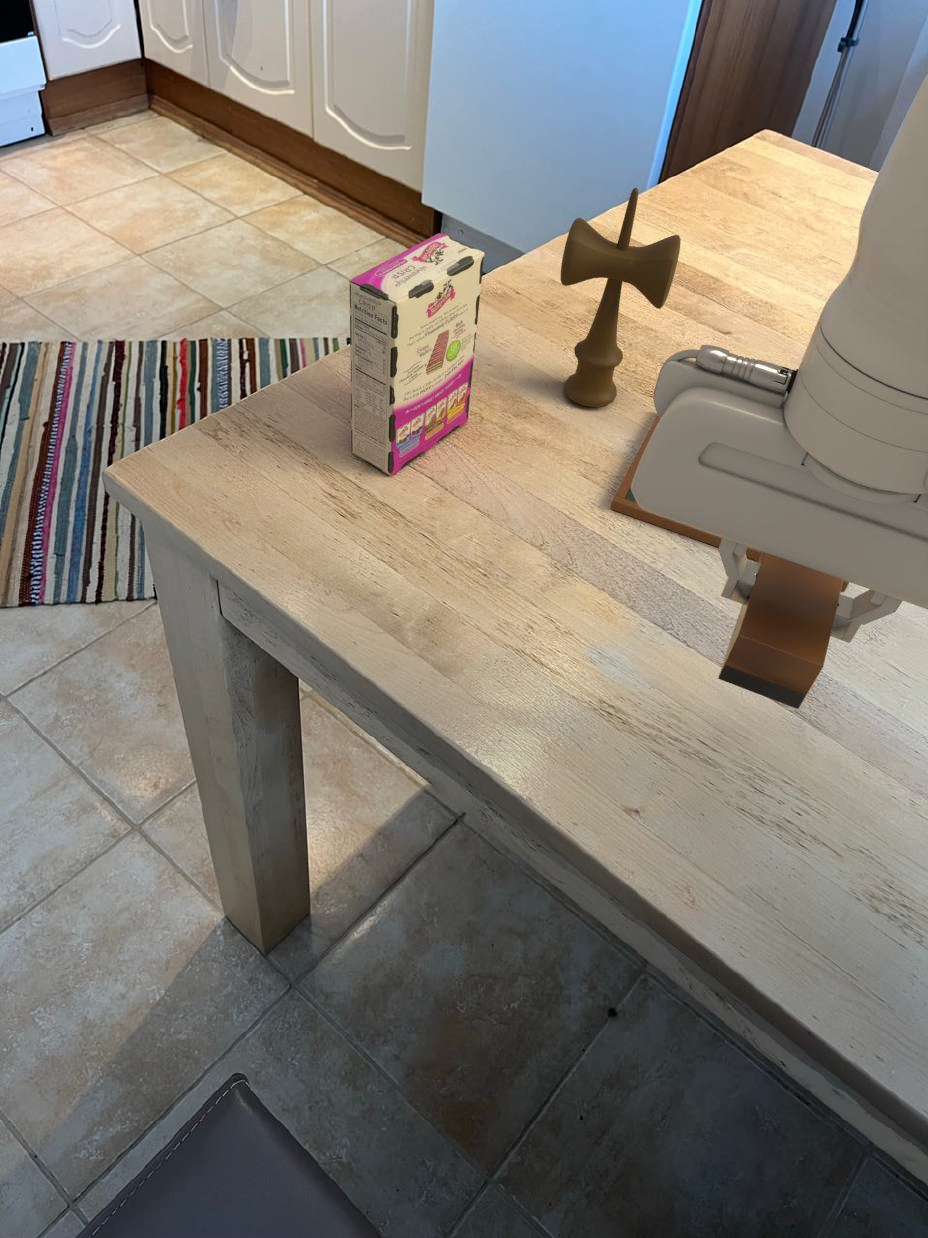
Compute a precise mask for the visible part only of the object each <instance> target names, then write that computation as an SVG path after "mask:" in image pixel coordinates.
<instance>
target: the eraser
mask: <svg viewBox="0 0 928 1238" xmlns="http://www.w3.org/2000/svg"><path fill="white" fill-rule="evenodd" d="M755 564H756V565H759V566H760V569H759V572H758V575H757V578H756V581H755V584H754V587H753V589H752V591H751V593H750V595H749V597H748V600H747V602H746V604H745V605H744V604H741V607H740V610H739V613H738V615H737V619H736V622H735V626H734V628H733V631H732V633H731V634H732V635H731V638H730V641H729V644H728V646H727V649H726V653H725V656H724V659H723V661H722V662H723V663H722V665H721V668H720V671H719V674H718V677H717V678H718V680H720V681H723V682H726V683H729V684H730V685H731V684H732V685H733V686H736V687H738V688H741V689H743V690H746V691H749V692H751V693H754V694H757V695H760V696H762V697H764V698H767V699H771V700H772V701H774V702H775V701H776V702H778V703H780V704H783V705H785V706H788V707H791V708H794V709H796V710H799V709H800V707H801V705H802V703H803V702H804V701H805V698H806V697H807V695H808V693H809V692H810V690H811V688H812V687H813V685H814V683H815V682H816V681H817V678H818V677H819V675H820V673H821V672H822V670H823V668H824V666H825V662H826V657H827V653H828V649H829V644H830V639H831V637H832V636H831V631H832V627H833V622H834V618H835V614H836V609H837V605H838V601H839V596H840V594H841V592H842V591H841V588H842V583H843V580H842V579H839V578H836V577H834V576H831V575H828V574H825V573H822V572H819V571H816V570H814V569H811V568H808V567H805V566H802V565H799V564H796V563H794V562H791V561H788V560H785V559H782V558H779V557H776V556H774V555H771V554H768V553H765V552H761V553H760V556H759V558H758V560H757V561H756V562H755Z"/></svg>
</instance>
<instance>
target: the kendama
mask: <svg viewBox="0 0 928 1238" xmlns="http://www.w3.org/2000/svg"><path fill="white" fill-rule="evenodd" d="M638 200H639V188H638V187H634V188H633V189H632V190H631V192H630V195H629V198H628V202H627V205H626V209H625V213H624V217H623V221H622V224H621V229H620V232H619V236H618V240H617V242H614V241H612V240H609V239H607V238H606V237H604V236H603V235H602V234H601V233H599V232H598V231H597V230H596V229H595V228H594V227H593V226H592V225H590V224H589V223H588V221H586V220H585V219H583V218H581V217H576V218H575V219H574V220H573V222H572V223H571V226H570V228H569V230H568V235H567V238H566V241H565V244H564V250H563V254H562V259H561V265H560V282H561V285H562V286H565V287H568V286H569V287H570V286H573V285H577V284H580V283H582V282H586V281H589V280H593V279H607V280H606V283H605V286H604V290H603V293H602V296H601V299H600V301H599V305H598V308H597V310H596V313H595V316H594V318H593V320H592V324H591V326H590V329H589V330H588V333H587V335H586V337H585V338H584V339H583V340H580V341H579V342H577V343H576V345H575V346H574V356H575V358H576V360H577V364H576V369H575V372H574V373H573V374H571V375H569V376H568V377H567V379H566V380H565V381H564V383H563V392H564V393H565V395H566V397H567V398H568V399H570V400H571V401H573V402H574V403H575V404H578V405H581V406H584V407H591V408H601V407H606V406H608V405H610V404H612V403H614V401H615V400H616V398H617V396H618V391H617V390H618V388H617V386H616V384H615V383H614V373H615V369H616V367H618V366H619V365H620V364H621V362H622V361H623V360H624V353H623V351H622V350H621V348H620V347H619V346H618V341H617V339H618V337H617V336H618V323H619V311H620V304H621V303H620V302H621V297H622V296H621V295H622V287H623V283H626V284H629V285H631V286H633V287H634V288H635V289H637V291H639V292H640V294H642V295H643V297H644V298H645V299H646V300H647V301H648V302H649V303H650V304H651V305H652V306H653V307H654V308H655V309H658V310H661V309H662V308H663V307H664V305H665V303H666V302H667V299H668V296H669V294H670V292H671V288H672V284H673V281H674V277H675V274H676V270H677V266H678V262H679V256H680V252H681V241H682V239H681V237H680V235H679V234H673V235H670V236H668V237H664V238H662V239H661V240H658V241H655V242H654V243H650V244H648V245H642V246H631V245H630V243H631V237H632V232H633V226H634V222H635V216H636V211H637V206H638Z"/></svg>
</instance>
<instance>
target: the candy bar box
mask: <svg viewBox="0 0 928 1238" xmlns="http://www.w3.org/2000/svg"><path fill="white" fill-rule="evenodd" d="M484 258H485V252H484V251H482V250H480V249H477V248H475V247H473V246H470V245H469V244H467V243H464V242H463V241H460V240H457V239H454V238H453V237H451V236H450V235H447V234H444V233H441V232H439V233H437V234H434V235H432V236H431V237H428V238H427V239H425V240H423V241H421V242H420V243H419V242H418V243H417V244H416V245H413V246H412V247H410V248H408V249H406V250H404V251H402V252H400V253H398V254H396V255H395V256H393V257H391V258H388V259H387V260H385V261H383V262H381V263H379V264H378V265H376V266H373V267H372V268H370V269H368V270H366V271H364V272H362V273H360V274H358V275H356V276H354V277H352V278H351V279H348V280H349V282H348V284H349V346H350V347H349V348H350V349H349V350H350V353H349V354H350V358H349V359H350V441H351V442H350V443H351V444H350V446H351V447H350V448H351V449H350V450H351V454H352V455H354V456H355V457H357V458H358V459H360V460H361V461H363V462H365V463H368V464H369V465H370V466H372V467H374V468H376V469H378V470H379V471H380V472H383V473H384V474H386V475H388V476H390V477H392V476H394V475H396V474H397V473H398V472H400V471H401V470H403V469H404V468H405V467H407V466H408V465H410V464H411V463H412V462H414V461H415V460H416V459H418V458H419V457H420V456H422V455H423V454H424V453H426V452H427V451H428V450H430V449H432V448H433V447H434V446H436V445H437V444H438V443H439V442H440V441H441V442H442V440H444V439H445V438H446V437H448V436H449V435H450V434H452V433H453V432H455V431H456V430H458V429H459V428H460V427H462V426H463V425H464V424H466V423H468V421H469V411H470V401H471V393H472V392H471V391H472V380H473V370H474V359H475V349H476V348H475V347H476V340H477V339H476V338H477V331H478V320H479V311H480V310H479V309H480V299H481V291H482V280H483V271H484V270H483V269H484V260H485V259H484Z"/></svg>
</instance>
